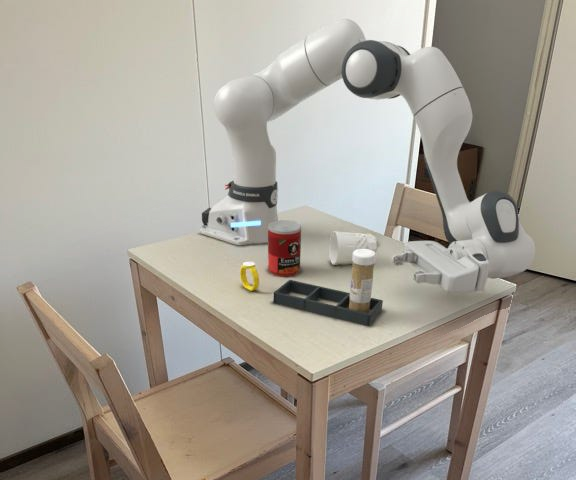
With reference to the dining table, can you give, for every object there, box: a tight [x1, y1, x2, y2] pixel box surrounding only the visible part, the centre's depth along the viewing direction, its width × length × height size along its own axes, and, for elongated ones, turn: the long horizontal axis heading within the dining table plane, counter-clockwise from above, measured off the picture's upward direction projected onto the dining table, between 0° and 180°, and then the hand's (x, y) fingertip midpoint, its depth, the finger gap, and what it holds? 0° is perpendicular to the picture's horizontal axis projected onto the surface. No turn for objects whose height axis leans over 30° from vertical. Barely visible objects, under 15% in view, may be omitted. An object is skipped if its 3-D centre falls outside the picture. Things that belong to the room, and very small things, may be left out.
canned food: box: [267, 219, 302, 277], centre depth 141 cm, size 8×8×11 cm
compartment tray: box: [273, 279, 384, 327], centre depth 127 cm, size 22×8×2 cm, turn 63°
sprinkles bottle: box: [348, 249, 377, 313], centre depth 121 cm, size 5×5×14 cm
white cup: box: [328, 230, 378, 266], centre depth 146 cm, size 8×8×10 cm
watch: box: [239, 261, 260, 292], centre depth 133 cm, size 6×3×6 cm, turn 35°
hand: (404, 268), depth 122 cm, fingers open, 8 cm apart
